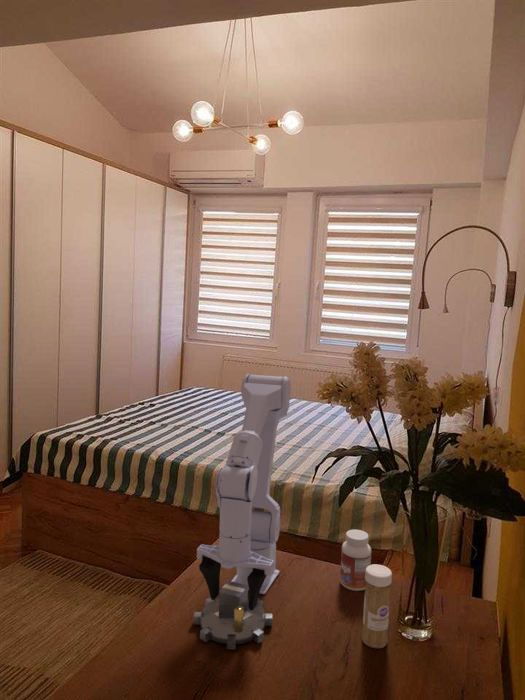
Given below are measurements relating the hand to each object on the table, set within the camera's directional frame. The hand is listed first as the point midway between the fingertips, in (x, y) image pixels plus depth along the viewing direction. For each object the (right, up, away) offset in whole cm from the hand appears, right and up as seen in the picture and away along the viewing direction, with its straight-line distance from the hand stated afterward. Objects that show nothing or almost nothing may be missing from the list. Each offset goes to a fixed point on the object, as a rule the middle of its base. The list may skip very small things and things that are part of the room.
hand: (233, 601), depth 97 cm
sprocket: (0, -5, +1) cm, 4 cm away
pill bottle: (+25, -4, +16) cm, 30 cm away
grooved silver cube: (0, -2, 0) cm, 2 cm away
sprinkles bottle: (+25, -6, -3) cm, 26 cm away
